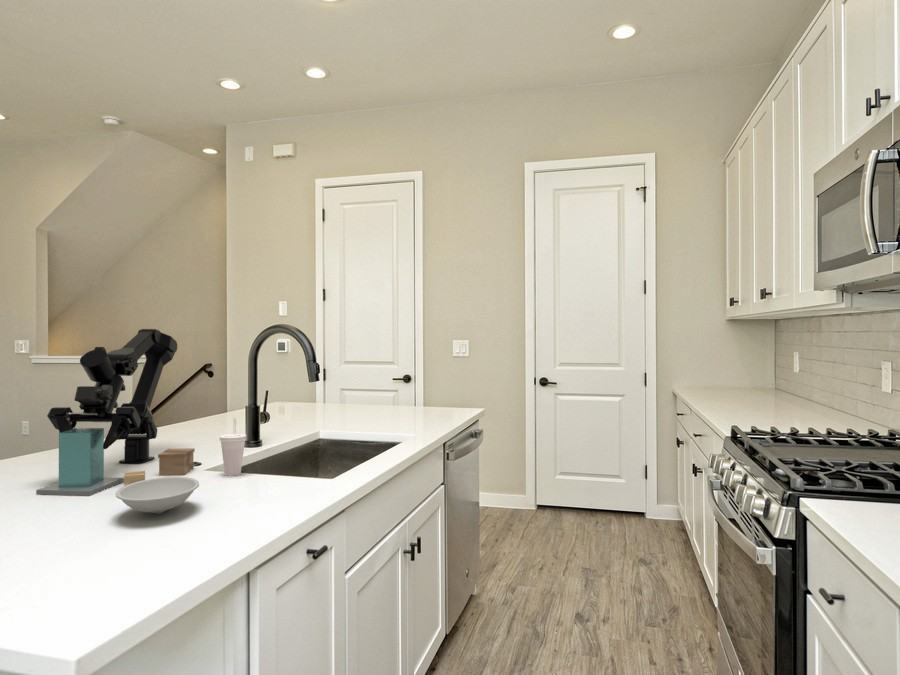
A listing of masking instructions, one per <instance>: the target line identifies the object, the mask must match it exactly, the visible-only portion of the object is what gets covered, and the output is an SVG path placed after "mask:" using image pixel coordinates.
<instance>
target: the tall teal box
mask: <svg viewBox="0 0 900 675" xmlns="http://www.w3.org/2000/svg"><path fill="white" fill-rule="evenodd" d="M104 441H105V427H94V428H92V427H91V428H90V427H88V428H87V427H86V428H84V427H82V428H81V427H80V428H79V427H78V428H76V427H75V428H73V429H71V430H67V431H64V432H61V433H59V432H58V482H59V488H65V487H91V486H93V485H95V484H97V483H99V482H100V481H102V480H104V477H105V476H104V475H105V474H104V473H105V470H104V469H105V467H104V465H105V463H104V462H105V461H104V460H105V449H104V448H103V445H104Z"/></svg>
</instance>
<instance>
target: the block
mask: <svg viewBox="0 0 900 675" xmlns="http://www.w3.org/2000/svg"><path fill="white" fill-rule="evenodd" d="M123 478H124V482H123V487H124V486H126V485H129V484H132V483H135V482H138V481H143V480H146V470H136V471H125V472H124V476H123Z"/></svg>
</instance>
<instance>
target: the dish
mask: <svg viewBox="0 0 900 675" xmlns="http://www.w3.org/2000/svg"><path fill="white" fill-rule="evenodd" d="M199 487H200V481H199V480H197V479H196V478H193V477H189V476H164V477H154V478H149V479H145V480H143V481H138V482H135V483H132V484H129V485H126V486H124V485H123V486H122V487H120V488H118V490H116V492H115V497H116V498H117V499H118V500H121V501H122V502H123V504H124V505H126V506H127V507H129V508H130V509H132V510H134V511H136V512H137V511H138V512H140V513H153V514H154V515H156V514H157V515H160V514H163V513H164V511H168V510H169V511H170V510H171V509H173V508H176V507H178V506H180V505H181V504H183V503H184V502H185V501H187V500H188V499H189V497H190V496H191V495H192V494H193V493H194V491H195V490H197V489H198V488H199Z"/></svg>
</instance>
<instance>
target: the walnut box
mask: <svg viewBox="0 0 900 675" xmlns="http://www.w3.org/2000/svg"><path fill="white" fill-rule="evenodd" d="M194 453H195V448H194V447H193V448H192V447H191V448H190V447H189V448H183V447H182V448H167V449H165V450H164V451H162V452H160V453H158V454H157V458H158V475H159V476H185V475H187V474H188V473H190V470H191V469H192V470H193V469H194ZM192 470H191V471H192ZM187 472H188V473H187ZM184 474H185V475H184Z"/></svg>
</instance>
